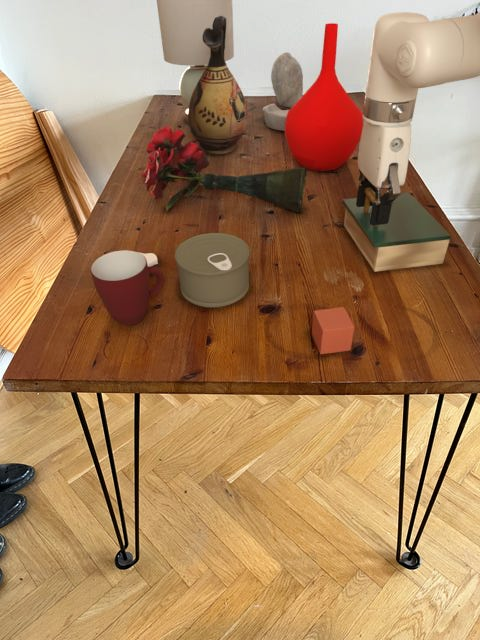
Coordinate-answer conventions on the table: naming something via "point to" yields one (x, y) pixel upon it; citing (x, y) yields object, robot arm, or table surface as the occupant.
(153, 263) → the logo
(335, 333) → the block
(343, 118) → the vase
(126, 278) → the mug
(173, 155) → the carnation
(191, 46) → the lamp
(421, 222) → the cover
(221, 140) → the ceramic jug
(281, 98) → the decorative stone
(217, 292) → the can
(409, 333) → the table surface
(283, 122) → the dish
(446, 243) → the cream open box
